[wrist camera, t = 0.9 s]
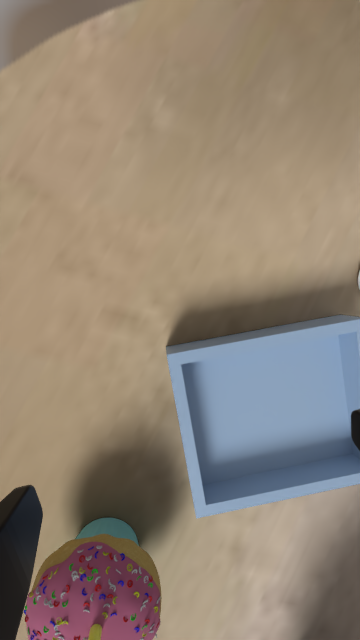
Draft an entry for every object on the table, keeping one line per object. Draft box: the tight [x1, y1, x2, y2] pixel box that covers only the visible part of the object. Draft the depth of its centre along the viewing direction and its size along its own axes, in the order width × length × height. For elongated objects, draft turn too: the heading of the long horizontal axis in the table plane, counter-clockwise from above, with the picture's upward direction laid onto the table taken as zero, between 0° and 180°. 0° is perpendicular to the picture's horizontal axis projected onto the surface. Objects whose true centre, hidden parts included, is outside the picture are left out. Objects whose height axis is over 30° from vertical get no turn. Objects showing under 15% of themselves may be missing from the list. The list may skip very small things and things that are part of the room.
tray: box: [166, 315, 360, 518], centre depth 22 cm, size 12×14×3 cm
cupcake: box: [24, 517, 161, 640], centre depth 18 cm, size 9×8×12 cm
